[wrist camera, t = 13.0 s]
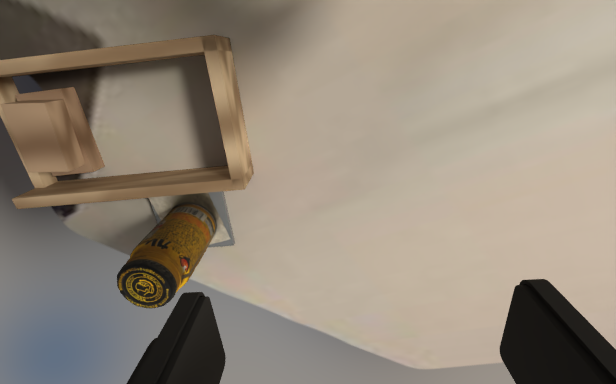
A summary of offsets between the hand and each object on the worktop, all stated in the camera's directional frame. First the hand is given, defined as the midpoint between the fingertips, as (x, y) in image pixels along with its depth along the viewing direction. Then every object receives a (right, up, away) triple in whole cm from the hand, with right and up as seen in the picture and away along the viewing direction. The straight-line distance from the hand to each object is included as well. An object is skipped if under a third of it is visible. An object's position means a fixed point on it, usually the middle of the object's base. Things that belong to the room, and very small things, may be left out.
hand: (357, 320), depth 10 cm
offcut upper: (-29, +10, +24) cm, 39 cm away
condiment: (-16, +1, +29) cm, 33 cm away
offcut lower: (-29, +11, +26) cm, 41 cm away
